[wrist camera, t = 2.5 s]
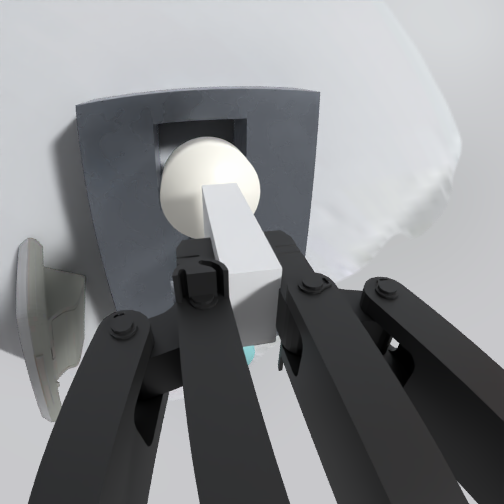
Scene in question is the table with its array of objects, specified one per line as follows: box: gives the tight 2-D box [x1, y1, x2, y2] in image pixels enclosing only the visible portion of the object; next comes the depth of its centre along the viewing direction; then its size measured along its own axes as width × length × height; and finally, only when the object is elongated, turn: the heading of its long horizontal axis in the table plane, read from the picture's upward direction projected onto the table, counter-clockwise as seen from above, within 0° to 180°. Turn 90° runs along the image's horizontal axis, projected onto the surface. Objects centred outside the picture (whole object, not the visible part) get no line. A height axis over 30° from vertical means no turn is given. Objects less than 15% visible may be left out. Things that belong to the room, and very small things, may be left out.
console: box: [76, 86, 320, 336], centre depth 25 cm, size 16×22×5 cm
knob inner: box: [160, 137, 260, 239], centre depth 18 cm, size 5×5×7 cm
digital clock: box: [16, 238, 86, 422], centre depth 24 cm, size 16×9×11 cm, turn 149°
